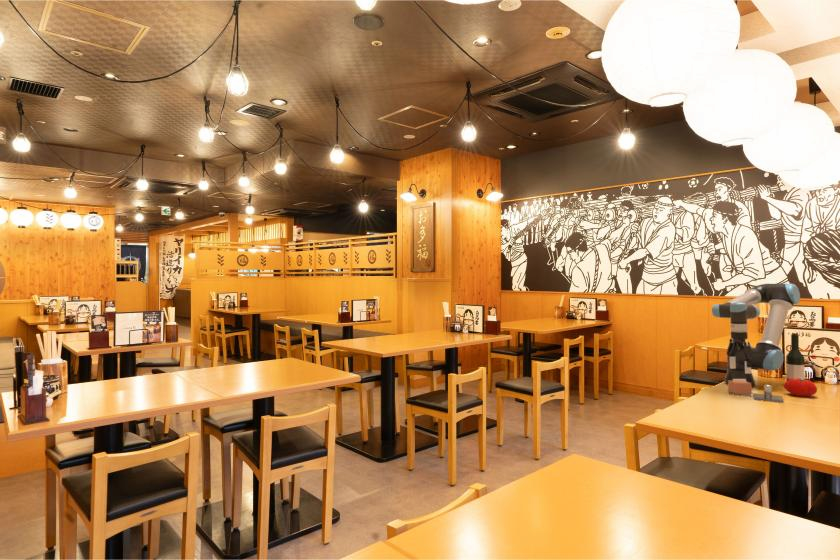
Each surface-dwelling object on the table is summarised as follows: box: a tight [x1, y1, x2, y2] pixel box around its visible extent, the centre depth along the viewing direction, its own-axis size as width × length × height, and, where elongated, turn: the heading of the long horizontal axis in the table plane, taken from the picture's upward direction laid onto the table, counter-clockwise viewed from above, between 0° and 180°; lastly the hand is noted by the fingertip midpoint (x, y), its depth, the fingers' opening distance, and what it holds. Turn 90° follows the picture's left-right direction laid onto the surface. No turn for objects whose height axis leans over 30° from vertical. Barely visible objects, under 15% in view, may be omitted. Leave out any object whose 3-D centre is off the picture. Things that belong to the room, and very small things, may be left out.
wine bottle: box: [785, 332, 806, 381], centre depth 282 cm, size 8×8×30 cm
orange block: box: [727, 379, 752, 395], centre depth 264 cm, size 8×8×7 cm
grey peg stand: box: [752, 384, 785, 404], centre depth 251 cm, size 12×12×7 cm
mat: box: [728, 391, 752, 397], centre depth 264 cm, size 10×10×1 cm
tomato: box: [783, 379, 818, 397], centre depth 258 cm, size 14×13×9 cm
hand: (740, 370), depth 264 cm, fingers open, 13 cm apart
